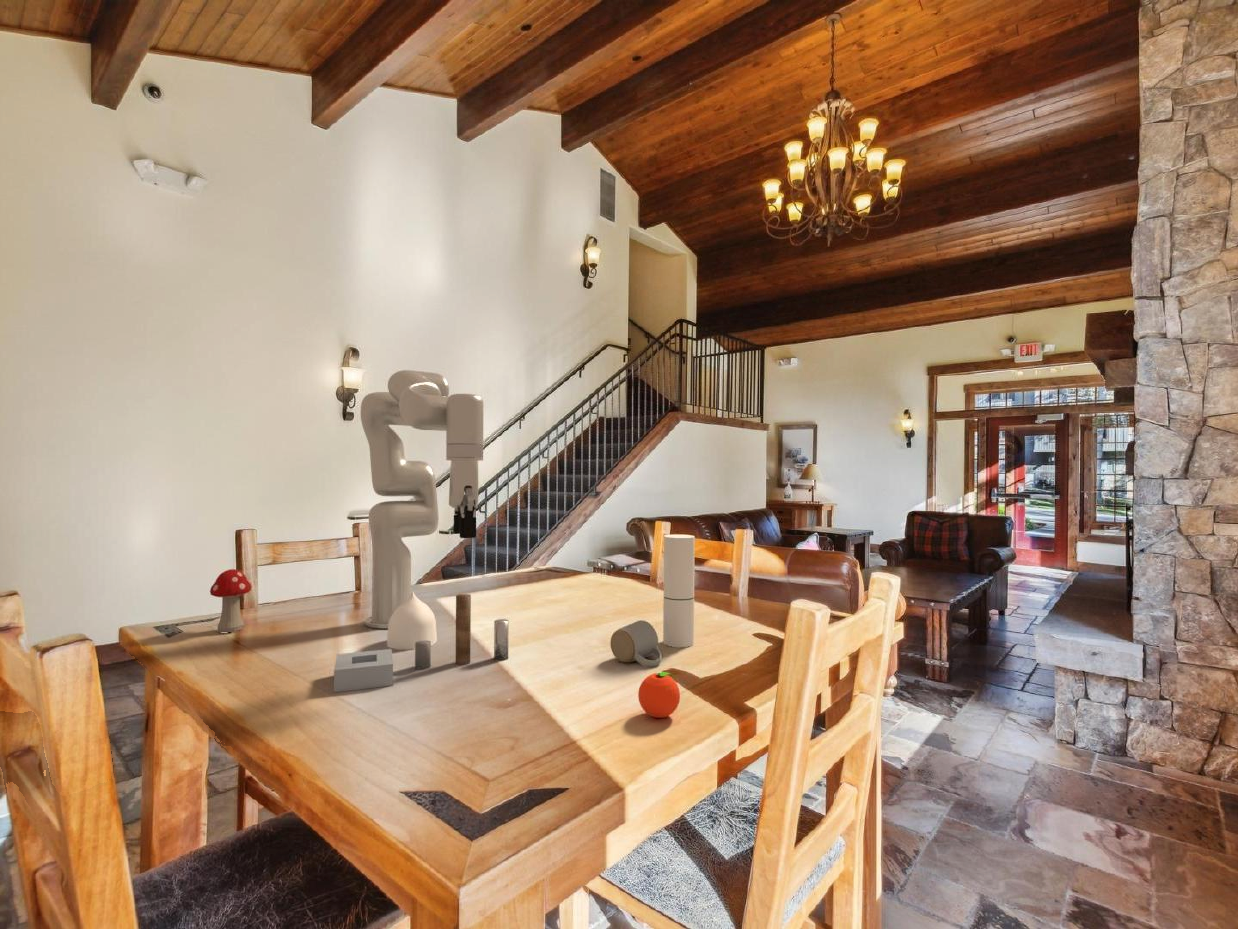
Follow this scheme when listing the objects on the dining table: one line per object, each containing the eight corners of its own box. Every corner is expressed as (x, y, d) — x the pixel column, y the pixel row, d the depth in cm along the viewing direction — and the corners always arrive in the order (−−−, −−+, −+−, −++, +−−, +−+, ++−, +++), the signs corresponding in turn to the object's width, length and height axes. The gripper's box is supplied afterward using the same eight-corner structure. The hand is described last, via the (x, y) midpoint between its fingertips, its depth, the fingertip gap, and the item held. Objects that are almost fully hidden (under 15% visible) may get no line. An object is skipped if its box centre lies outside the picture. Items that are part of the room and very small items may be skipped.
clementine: (657, 702, 107) (658, 662, 107) (691, 713, 103) (691, 670, 103) (629, 717, 101) (629, 674, 101) (664, 729, 97) (664, 683, 97)
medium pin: (492, 657, 132) (493, 620, 132) (506, 655, 133) (507, 618, 133) (495, 661, 129) (495, 623, 129) (509, 659, 130) (509, 622, 130)
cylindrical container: (693, 639, 147) (694, 534, 147) (694, 648, 140) (695, 538, 140) (663, 638, 147) (664, 534, 147) (662, 646, 140) (663, 537, 140)
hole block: (336, 674, 120) (337, 654, 120) (391, 668, 124) (391, 649, 124) (333, 692, 111) (334, 670, 111) (392, 685, 114) (393, 664, 114)
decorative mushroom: (217, 626, 155) (217, 567, 155) (255, 624, 157) (256, 565, 157) (203, 637, 145) (204, 573, 145) (244, 634, 148) (245, 572, 148)
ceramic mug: (607, 659, 131) (607, 624, 131) (632, 651, 137) (632, 617, 137) (645, 672, 124) (646, 634, 124) (670, 662, 130) (670, 626, 130)
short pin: (414, 665, 126) (414, 641, 126) (429, 664, 127) (430, 639, 127) (415, 670, 123) (415, 645, 123) (431, 668, 124) (431, 643, 124)
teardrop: (376, 647, 138) (376, 594, 138) (404, 634, 149) (405, 585, 149) (420, 651, 136) (420, 597, 136) (445, 638, 146) (446, 587, 146)
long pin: (454, 661, 129) (455, 594, 129) (469, 659, 130) (469, 593, 130) (456, 665, 126) (457, 597, 126) (471, 663, 127) (471, 596, 127)
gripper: (441, 454, 135) (441, 532, 134) (451, 452, 119) (450, 540, 118) (476, 454, 137) (476, 531, 137) (490, 452, 121) (490, 539, 121)
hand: (464, 535), depth 128 cm, fingers open, 9 cm apart
